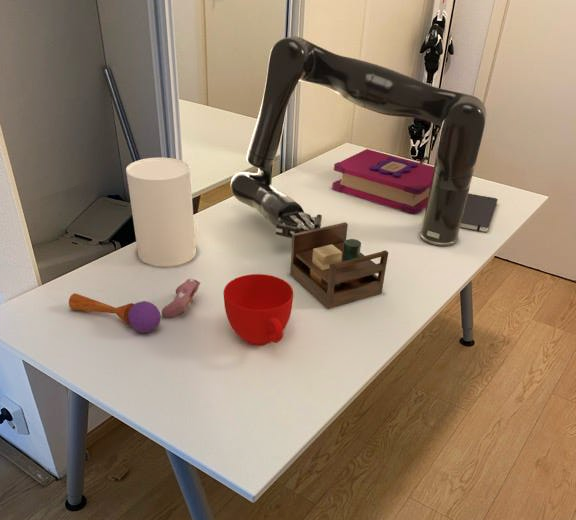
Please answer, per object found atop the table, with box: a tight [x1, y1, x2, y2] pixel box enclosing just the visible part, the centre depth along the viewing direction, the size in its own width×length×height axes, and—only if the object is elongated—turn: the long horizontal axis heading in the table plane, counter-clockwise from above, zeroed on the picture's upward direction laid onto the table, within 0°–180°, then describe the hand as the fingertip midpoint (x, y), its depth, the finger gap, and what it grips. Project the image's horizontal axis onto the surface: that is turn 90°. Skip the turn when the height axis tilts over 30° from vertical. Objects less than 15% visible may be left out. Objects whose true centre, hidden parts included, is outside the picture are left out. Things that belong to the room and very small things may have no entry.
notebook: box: [460, 192, 499, 233], centre depth 162 cm, size 13×2×21 cm
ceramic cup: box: [223, 273, 294, 346], centre depth 110 cm, size 13×17×10 cm
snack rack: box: [289, 221, 389, 310], centre depth 127 cm, size 14×16×10 cm
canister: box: [125, 157, 197, 267], centre depth 132 cm, size 14×14×20 cm
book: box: [331, 148, 434, 215], centre depth 171 cm, size 21×28×8 cm
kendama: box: [68, 293, 162, 334], centre depth 115 cm, size 6×6×20 cm
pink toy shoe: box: [161, 277, 201, 319], centre depth 119 cm, size 10×5×7 cm, turn 168°
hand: (318, 239), depth 131 cm, fingers closed
